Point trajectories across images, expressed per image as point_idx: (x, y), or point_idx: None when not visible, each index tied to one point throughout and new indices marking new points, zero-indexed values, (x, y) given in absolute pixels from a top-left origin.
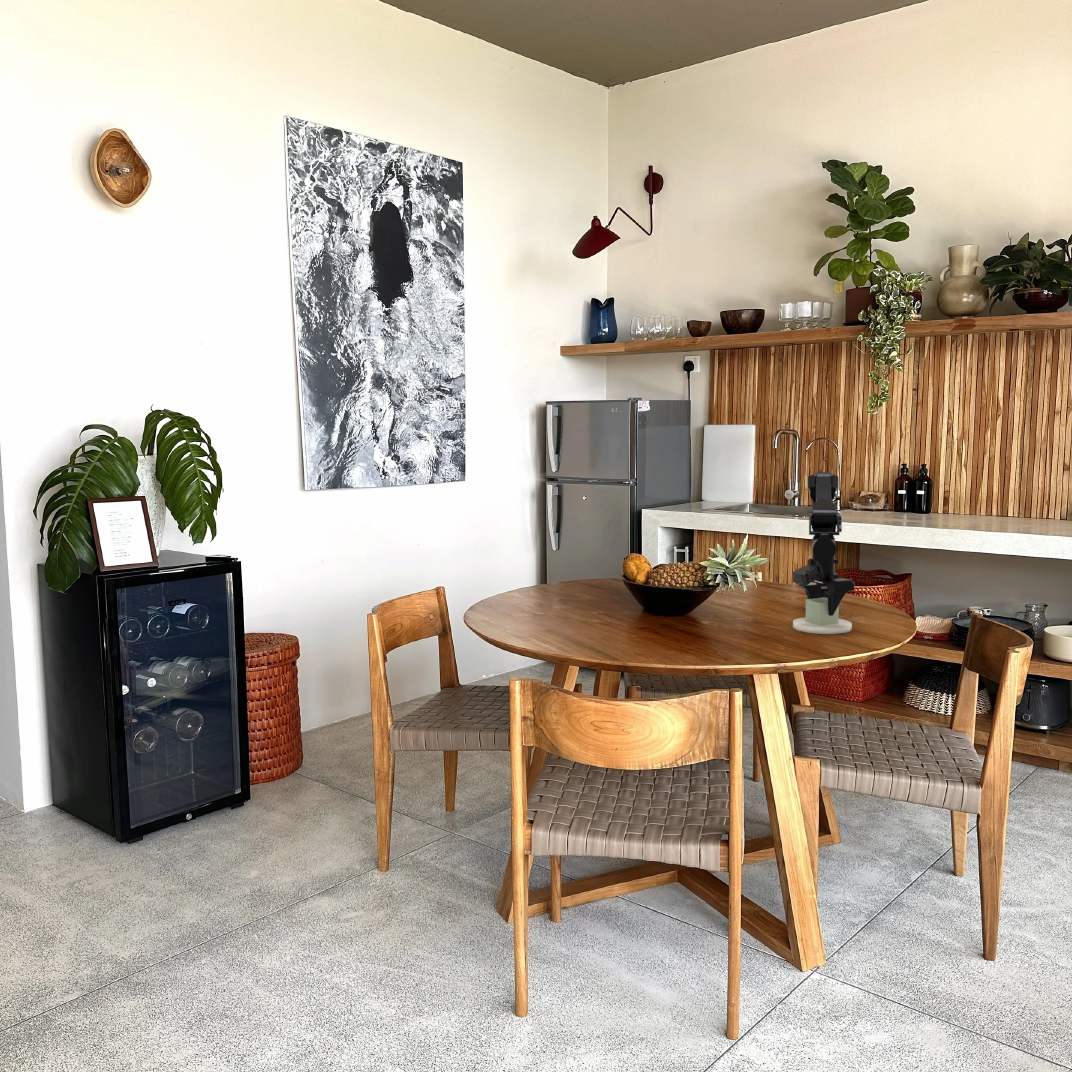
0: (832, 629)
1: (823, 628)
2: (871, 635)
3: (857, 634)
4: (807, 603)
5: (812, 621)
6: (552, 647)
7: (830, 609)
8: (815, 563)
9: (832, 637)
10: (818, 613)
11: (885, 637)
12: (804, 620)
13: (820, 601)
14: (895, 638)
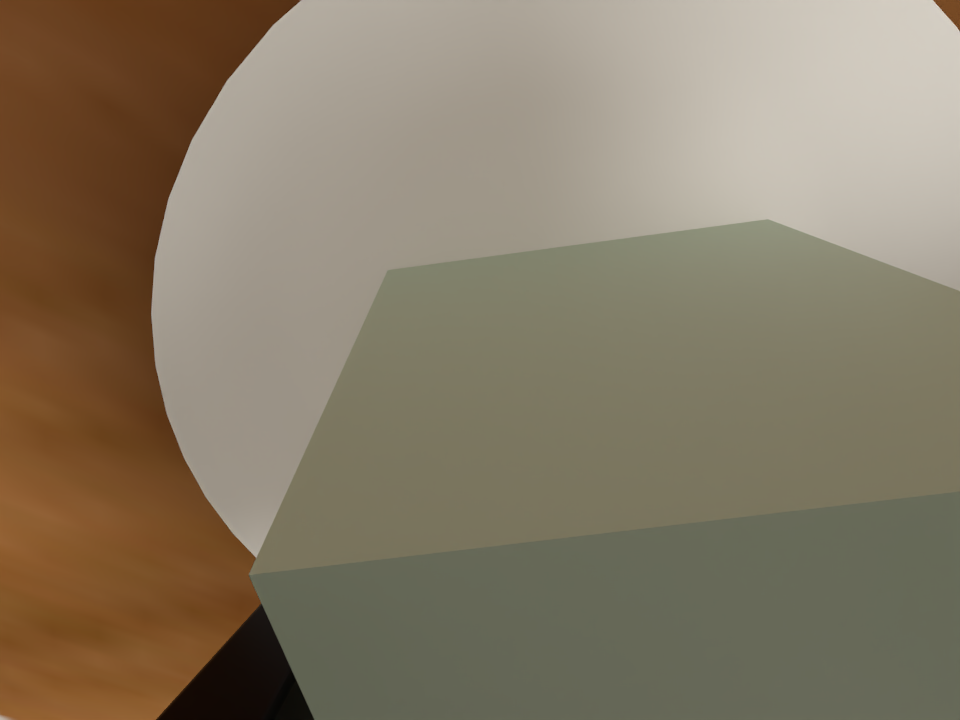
0: (161, 337)
1: (166, 214)
2: (140, 618)
3: (196, 544)
4: None
5: (584, 251)
6: None
7: (257, 613)
8: None
9: (30, 227)
10: (408, 347)
11: (50, 667)
12: (834, 240)
13: (567, 699)
14: (10, 704)
